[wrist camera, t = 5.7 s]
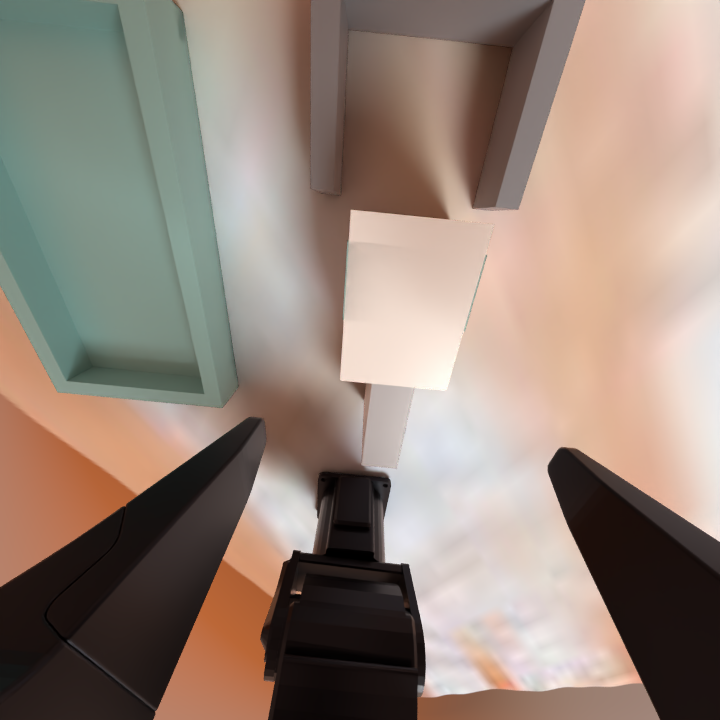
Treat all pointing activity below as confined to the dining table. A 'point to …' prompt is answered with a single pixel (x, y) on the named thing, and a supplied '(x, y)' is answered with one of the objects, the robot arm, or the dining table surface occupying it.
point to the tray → (110, 202)
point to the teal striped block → (405, 314)
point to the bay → (455, 23)
